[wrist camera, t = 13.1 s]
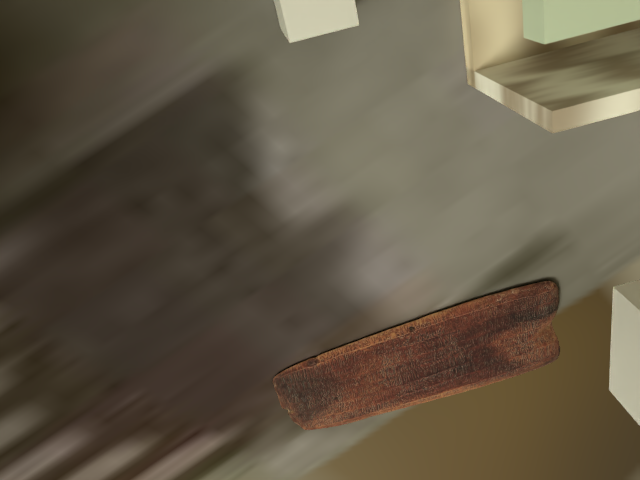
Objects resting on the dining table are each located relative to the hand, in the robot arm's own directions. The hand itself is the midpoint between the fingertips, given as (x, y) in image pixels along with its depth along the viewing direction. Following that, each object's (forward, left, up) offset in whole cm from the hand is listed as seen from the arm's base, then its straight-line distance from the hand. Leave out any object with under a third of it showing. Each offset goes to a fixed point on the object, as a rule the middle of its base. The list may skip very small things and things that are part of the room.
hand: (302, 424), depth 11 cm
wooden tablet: (+8, -28, -31) cm, 43 cm away
